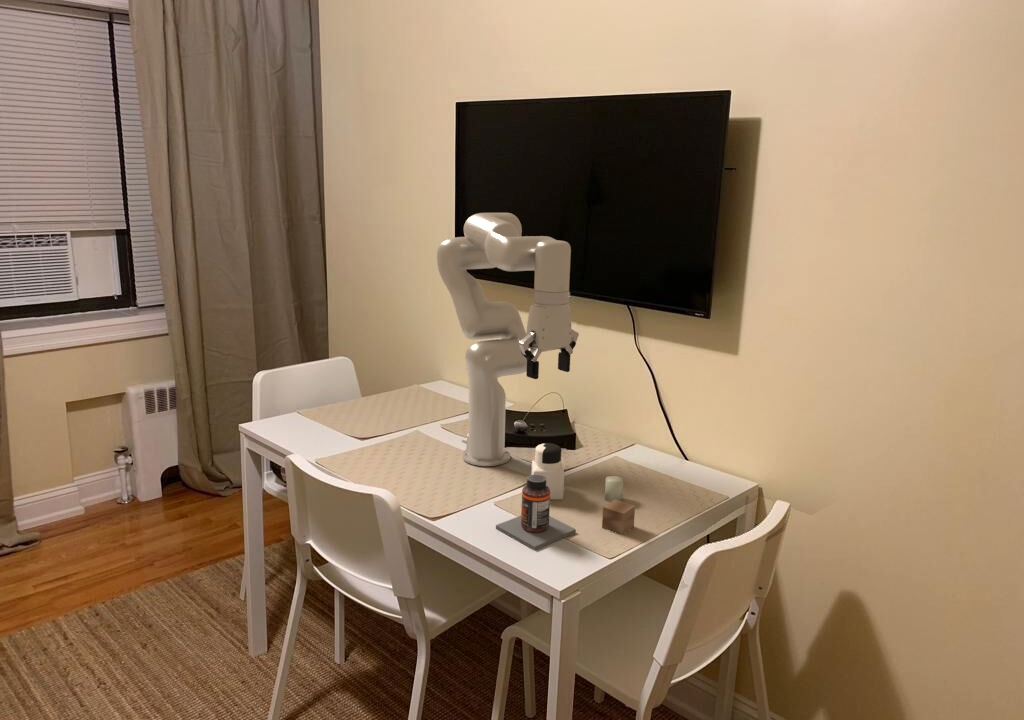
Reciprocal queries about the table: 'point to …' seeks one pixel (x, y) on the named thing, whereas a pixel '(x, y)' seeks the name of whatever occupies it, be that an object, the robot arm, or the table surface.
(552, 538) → the slate mat
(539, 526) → the supplement bottle
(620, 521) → the walnut block
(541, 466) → the medicine bottle
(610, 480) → the sage cylinder
